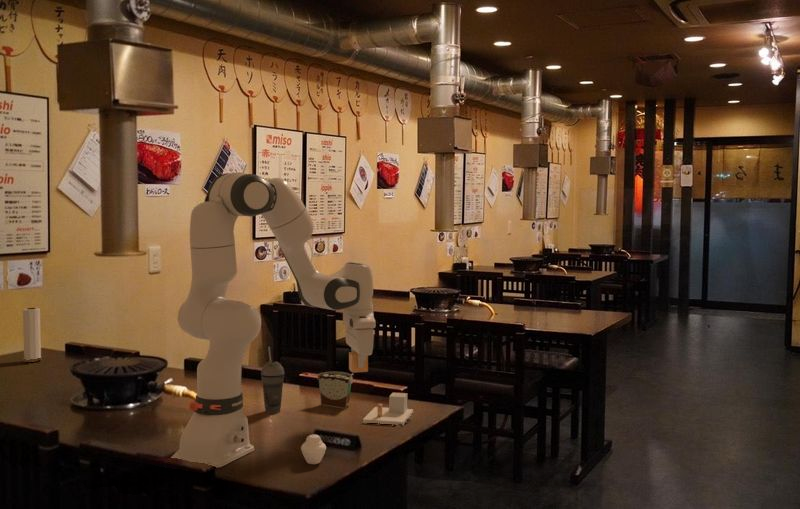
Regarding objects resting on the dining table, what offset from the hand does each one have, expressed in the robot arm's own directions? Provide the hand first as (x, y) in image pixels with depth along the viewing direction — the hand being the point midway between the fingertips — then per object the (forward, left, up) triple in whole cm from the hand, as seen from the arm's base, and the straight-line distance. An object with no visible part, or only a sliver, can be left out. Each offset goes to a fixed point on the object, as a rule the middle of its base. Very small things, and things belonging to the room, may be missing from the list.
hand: (358, 364), depth 220 cm
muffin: (-37, +1, -17) cm, 40 cm away
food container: (+16, +11, -17) cm, 26 cm away
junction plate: (+5, -8, -17) cm, 19 cm away
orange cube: (0, 0, -2) cm, 2 cm away
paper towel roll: (+47, +148, -17) cm, 156 cm away
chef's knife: (-5, -11, -17) cm, 21 cm away
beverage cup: (+3, +28, -17) cm, 33 cm away
